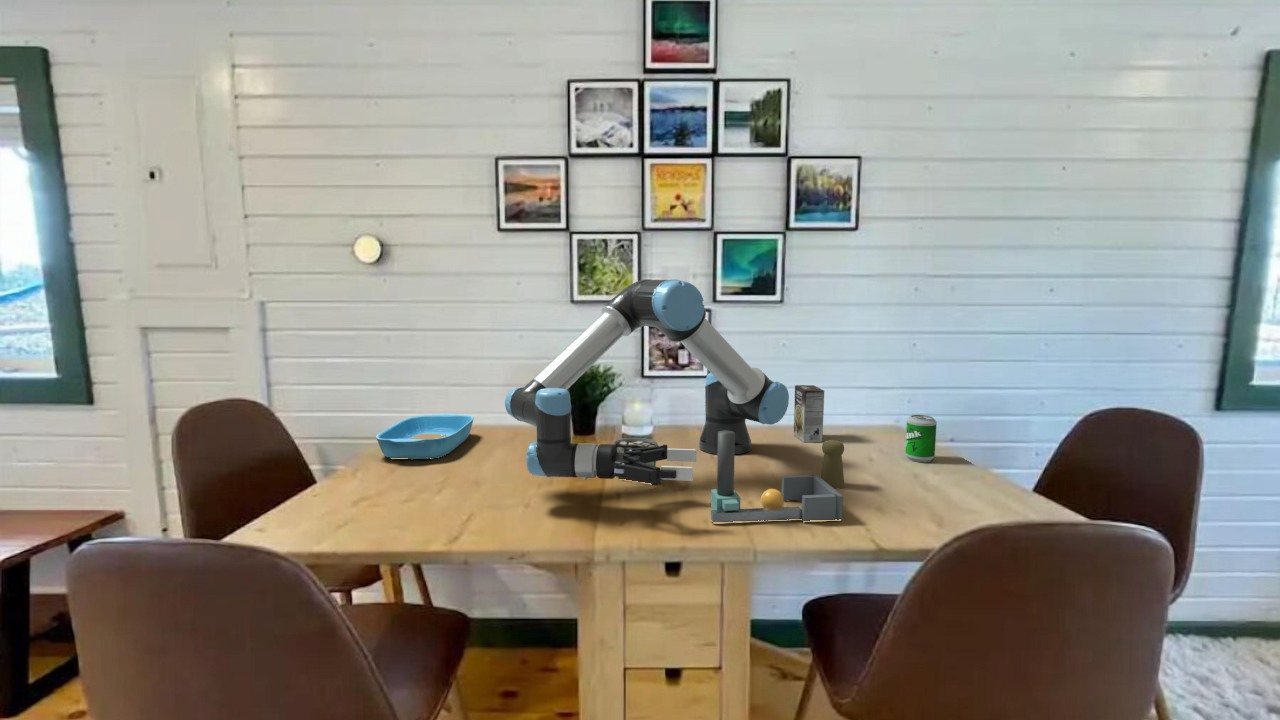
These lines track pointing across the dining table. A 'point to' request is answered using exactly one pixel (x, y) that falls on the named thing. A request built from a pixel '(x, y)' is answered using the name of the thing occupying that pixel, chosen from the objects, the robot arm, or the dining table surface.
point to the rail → (757, 514)
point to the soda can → (920, 438)
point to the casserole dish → (398, 435)
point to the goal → (813, 497)
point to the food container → (634, 443)
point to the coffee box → (808, 413)
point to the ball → (772, 499)
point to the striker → (725, 475)
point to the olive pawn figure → (833, 463)
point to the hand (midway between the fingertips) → (694, 464)
